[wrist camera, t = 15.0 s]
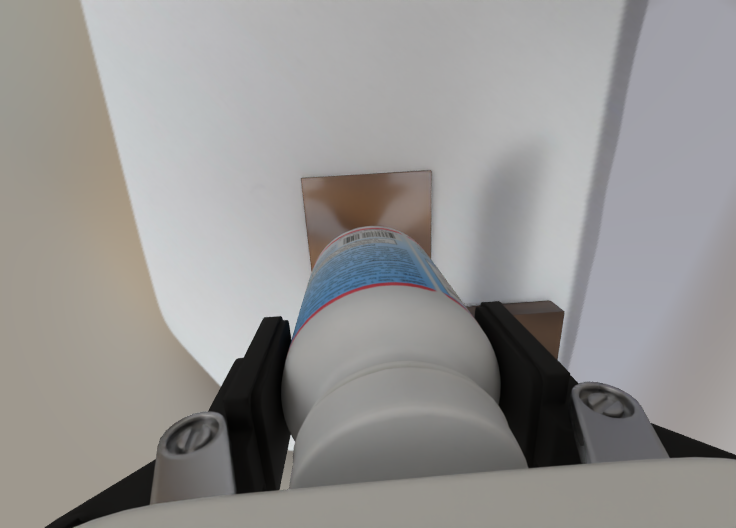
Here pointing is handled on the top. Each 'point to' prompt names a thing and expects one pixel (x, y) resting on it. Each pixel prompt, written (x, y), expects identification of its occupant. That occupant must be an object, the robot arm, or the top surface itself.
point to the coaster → (367, 206)
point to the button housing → (538, 321)
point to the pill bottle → (389, 371)
